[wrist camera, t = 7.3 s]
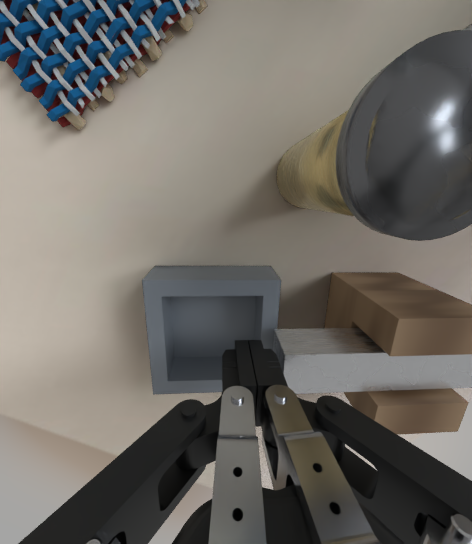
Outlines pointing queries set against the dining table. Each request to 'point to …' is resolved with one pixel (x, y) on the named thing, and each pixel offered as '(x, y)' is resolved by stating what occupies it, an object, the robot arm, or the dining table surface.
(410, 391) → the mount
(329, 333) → the pin
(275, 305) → the box
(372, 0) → the dining table surface
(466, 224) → the yellow glass jar
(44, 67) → the woven mat
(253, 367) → the robot arm
